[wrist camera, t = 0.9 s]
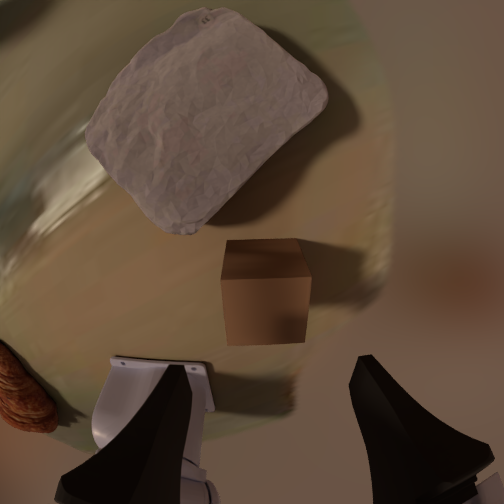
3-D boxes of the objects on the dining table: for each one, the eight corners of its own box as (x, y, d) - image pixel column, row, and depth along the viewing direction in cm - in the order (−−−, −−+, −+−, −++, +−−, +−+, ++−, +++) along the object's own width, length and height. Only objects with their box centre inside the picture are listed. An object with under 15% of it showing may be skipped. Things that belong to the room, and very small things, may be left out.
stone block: (105, 142, 17) (199, 238, 18) (61, 139, 12) (173, 260, 13) (219, 18, 14) (332, 107, 15) (201, -19, 9) (350, 83, 10)
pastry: (-15, 360, 27) (-35, 390, 20) (-1, 334, 23) (-30, 373, 16) (52, 422, 33) (39, 454, 26) (86, 413, 29) (71, 456, 22)
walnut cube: (231, 297, 20) (227, 345, 16) (226, 239, 18) (220, 279, 14) (293, 295, 20) (304, 342, 16) (296, 237, 18) (312, 276, 14)
